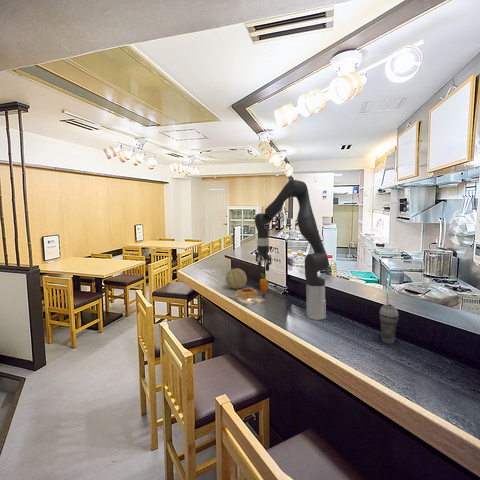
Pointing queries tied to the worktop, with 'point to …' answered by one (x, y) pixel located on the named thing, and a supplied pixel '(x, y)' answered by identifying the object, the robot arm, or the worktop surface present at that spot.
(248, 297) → the socket collar
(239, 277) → the cantaloupe
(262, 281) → the carrot
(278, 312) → the worktop surface
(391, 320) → the beverage cup
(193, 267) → the worktop surface
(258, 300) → the base board
